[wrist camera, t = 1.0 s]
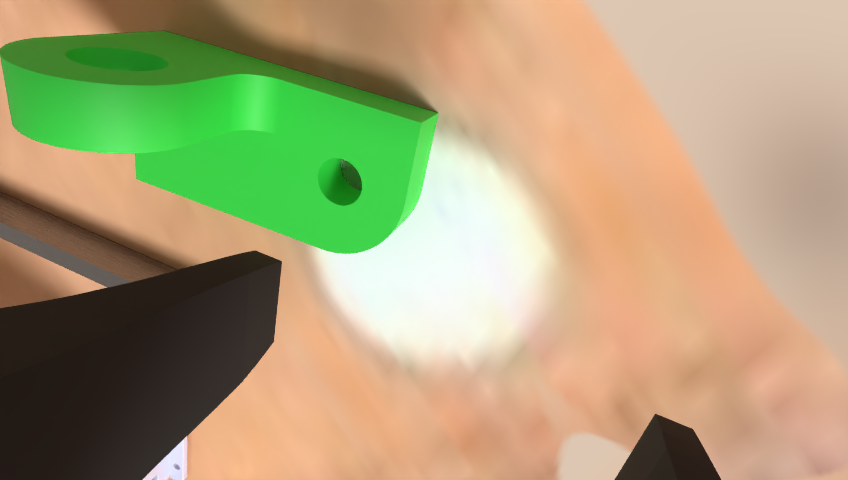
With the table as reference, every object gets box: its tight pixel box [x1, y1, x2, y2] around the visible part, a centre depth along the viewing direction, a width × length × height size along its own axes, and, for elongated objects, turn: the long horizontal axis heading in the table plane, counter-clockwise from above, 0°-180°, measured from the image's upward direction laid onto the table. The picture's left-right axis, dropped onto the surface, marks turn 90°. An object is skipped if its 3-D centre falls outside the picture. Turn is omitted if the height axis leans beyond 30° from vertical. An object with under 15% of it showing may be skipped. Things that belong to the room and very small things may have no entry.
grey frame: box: [0, 192, 176, 287], centre depth 21 cm, size 21×18×3 cm
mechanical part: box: [0, 31, 438, 254], centre depth 18 cm, size 12×6×8 cm, turn 78°
